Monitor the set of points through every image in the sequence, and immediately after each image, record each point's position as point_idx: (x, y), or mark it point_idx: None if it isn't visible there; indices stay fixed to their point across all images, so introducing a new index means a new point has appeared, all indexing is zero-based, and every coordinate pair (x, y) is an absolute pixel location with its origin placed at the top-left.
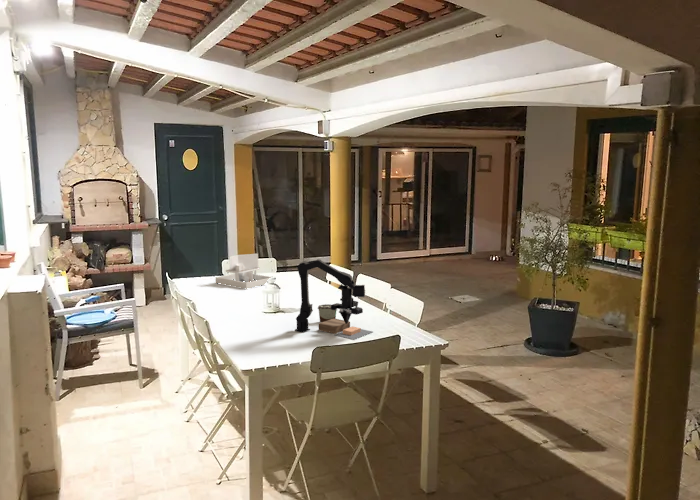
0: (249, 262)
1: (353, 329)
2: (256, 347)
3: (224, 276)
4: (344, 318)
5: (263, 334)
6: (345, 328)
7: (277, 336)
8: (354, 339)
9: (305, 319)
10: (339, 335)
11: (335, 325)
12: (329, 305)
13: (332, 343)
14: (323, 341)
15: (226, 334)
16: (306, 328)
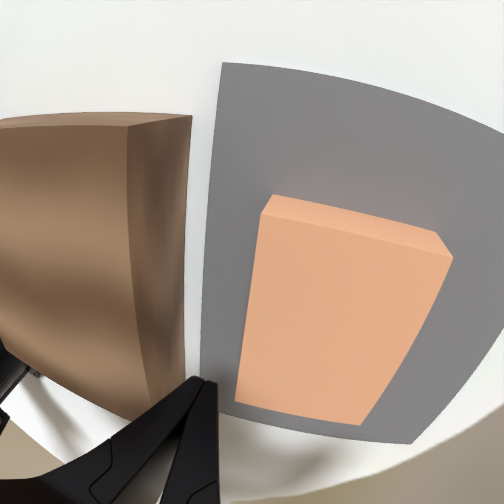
0: None
1: (358, 356)
2: None
3: None
4: (162, 488)
5: (11, 396)
6: (174, 234)
7: (44, 416)
8: (411, 442)
9: (2, 428)
10: (253, 416)
11: (117, 391)
12: None
13: (291, 489)
14: (227, 476)
15: None
16: (18, 360)
